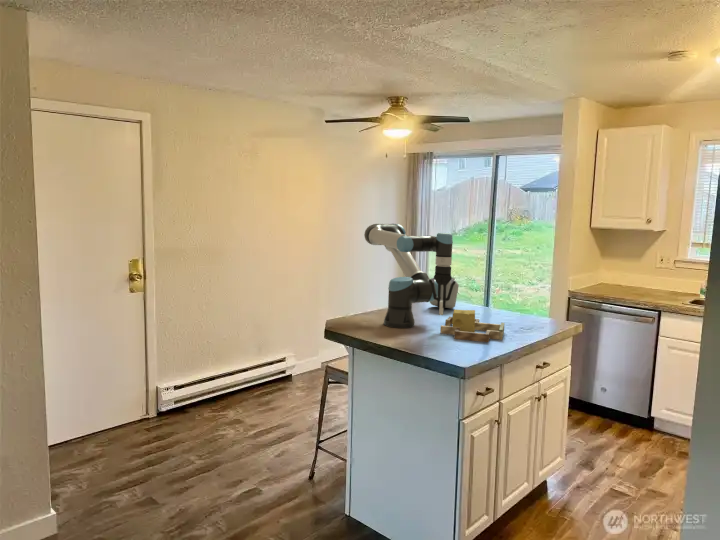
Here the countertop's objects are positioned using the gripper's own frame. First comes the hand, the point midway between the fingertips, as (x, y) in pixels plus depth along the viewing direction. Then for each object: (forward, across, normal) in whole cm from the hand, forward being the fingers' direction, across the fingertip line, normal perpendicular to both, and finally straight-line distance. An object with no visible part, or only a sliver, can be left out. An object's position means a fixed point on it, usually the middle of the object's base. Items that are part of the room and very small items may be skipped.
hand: (441, 314), depth 257 cm
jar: (+7, -7, +55) cm, 56 cm away
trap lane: (+8, +15, 0) cm, 17 cm away
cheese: (+8, +11, 0) cm, 13 cm away
